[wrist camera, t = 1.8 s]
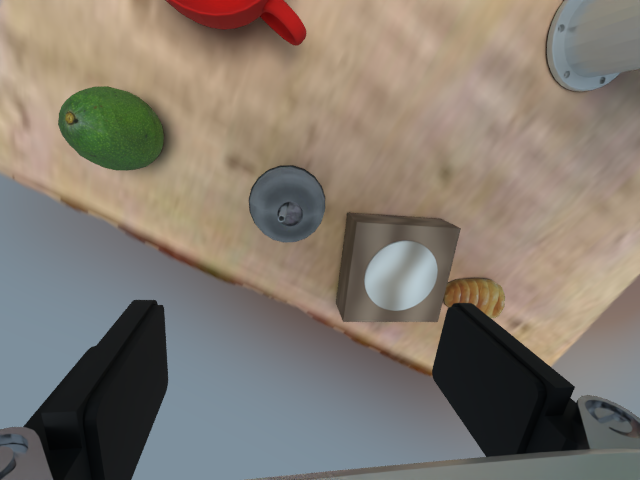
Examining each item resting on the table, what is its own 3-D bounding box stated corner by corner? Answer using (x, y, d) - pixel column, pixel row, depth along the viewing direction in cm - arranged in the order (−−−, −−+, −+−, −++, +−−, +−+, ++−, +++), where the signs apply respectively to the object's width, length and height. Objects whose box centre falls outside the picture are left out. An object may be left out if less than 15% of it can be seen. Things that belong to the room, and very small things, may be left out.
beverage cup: (284, 224, 42) (296, 296, 23) (242, 186, 40) (217, 233, 21) (322, 184, 41) (366, 226, 22) (281, 144, 39) (291, 153, 20)
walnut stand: (440, 218, 45) (462, 229, 40) (421, 304, 49) (439, 323, 44) (347, 212, 43) (357, 223, 38) (335, 303, 47) (343, 323, 42)
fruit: (160, 87, 35) (108, 65, 24) (183, 159, 38) (146, 170, 26) (87, 99, 34) (-2, 82, 23) (116, 171, 37) (48, 188, 26)
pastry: (433, 307, 50) (445, 320, 47) (447, 270, 49) (461, 280, 45) (482, 315, 52) (498, 328, 49) (498, 278, 51) (515, 289, 47)
